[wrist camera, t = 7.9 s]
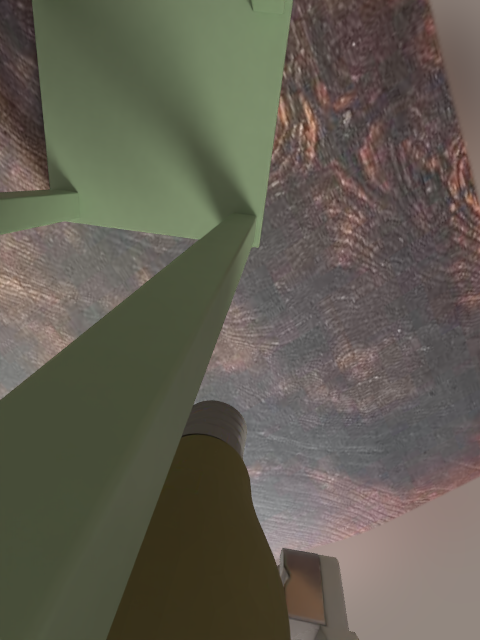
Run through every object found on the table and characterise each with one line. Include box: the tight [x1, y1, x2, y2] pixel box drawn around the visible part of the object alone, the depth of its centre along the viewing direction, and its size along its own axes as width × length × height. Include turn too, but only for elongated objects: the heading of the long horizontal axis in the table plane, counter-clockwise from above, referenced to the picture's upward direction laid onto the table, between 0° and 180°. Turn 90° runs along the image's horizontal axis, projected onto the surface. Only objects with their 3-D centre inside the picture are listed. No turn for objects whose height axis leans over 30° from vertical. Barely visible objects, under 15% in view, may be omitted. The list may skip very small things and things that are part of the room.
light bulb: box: [106, 400, 291, 640], centre depth 9 cm, size 6×6×10 cm
